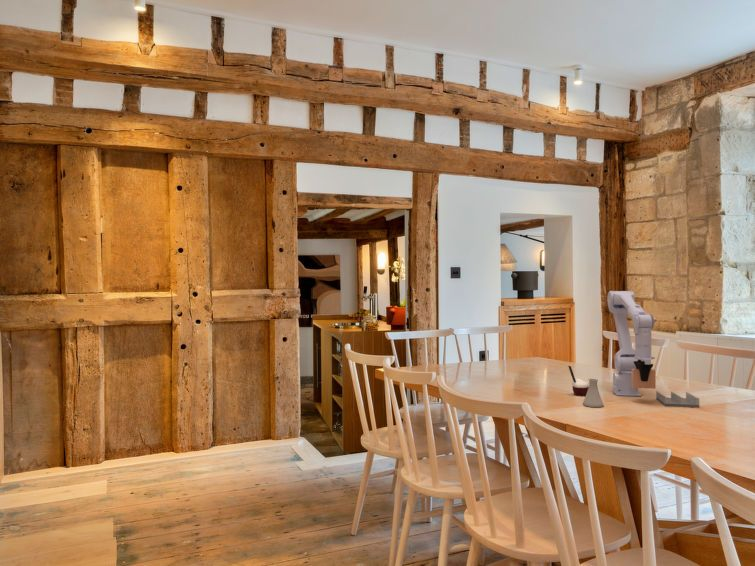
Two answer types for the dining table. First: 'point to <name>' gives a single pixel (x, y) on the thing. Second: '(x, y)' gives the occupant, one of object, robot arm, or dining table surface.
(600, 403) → the flask
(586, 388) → the cocoa
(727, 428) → the dining table surface
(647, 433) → the dining table surface
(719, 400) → the dining table surface
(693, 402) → the dish rack
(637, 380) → the terracotta tile
